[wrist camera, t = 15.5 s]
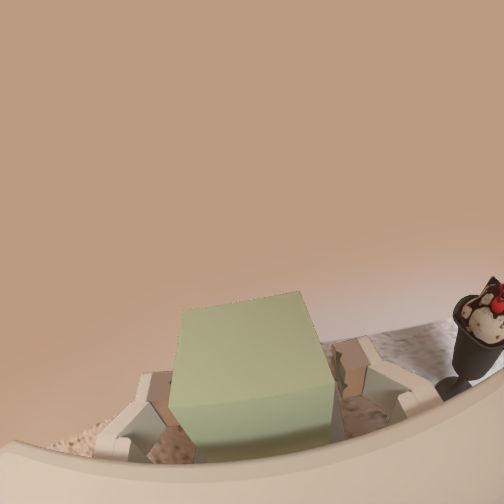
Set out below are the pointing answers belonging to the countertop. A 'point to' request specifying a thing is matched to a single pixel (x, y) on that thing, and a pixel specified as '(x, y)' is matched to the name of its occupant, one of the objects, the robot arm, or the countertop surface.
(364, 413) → the countertop surface
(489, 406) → the robot arm
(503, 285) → the sundae
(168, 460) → the countertop surface
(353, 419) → the countertop surface
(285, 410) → the pillar block
